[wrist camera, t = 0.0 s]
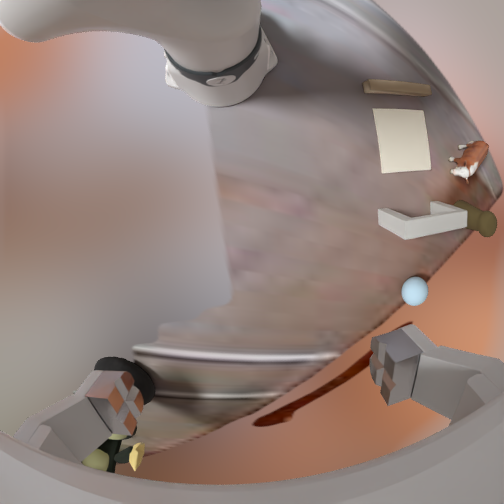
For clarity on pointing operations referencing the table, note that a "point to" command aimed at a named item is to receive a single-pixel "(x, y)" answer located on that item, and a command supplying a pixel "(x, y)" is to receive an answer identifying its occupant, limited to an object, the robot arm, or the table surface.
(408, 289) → the ball
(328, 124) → the table surface
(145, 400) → the candelabra
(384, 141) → the blank cream square sheet
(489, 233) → the olive tall rounded piece
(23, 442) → the robot arm
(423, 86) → the stopper
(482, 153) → the bull figurine
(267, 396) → the table surface
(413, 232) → the bridge
